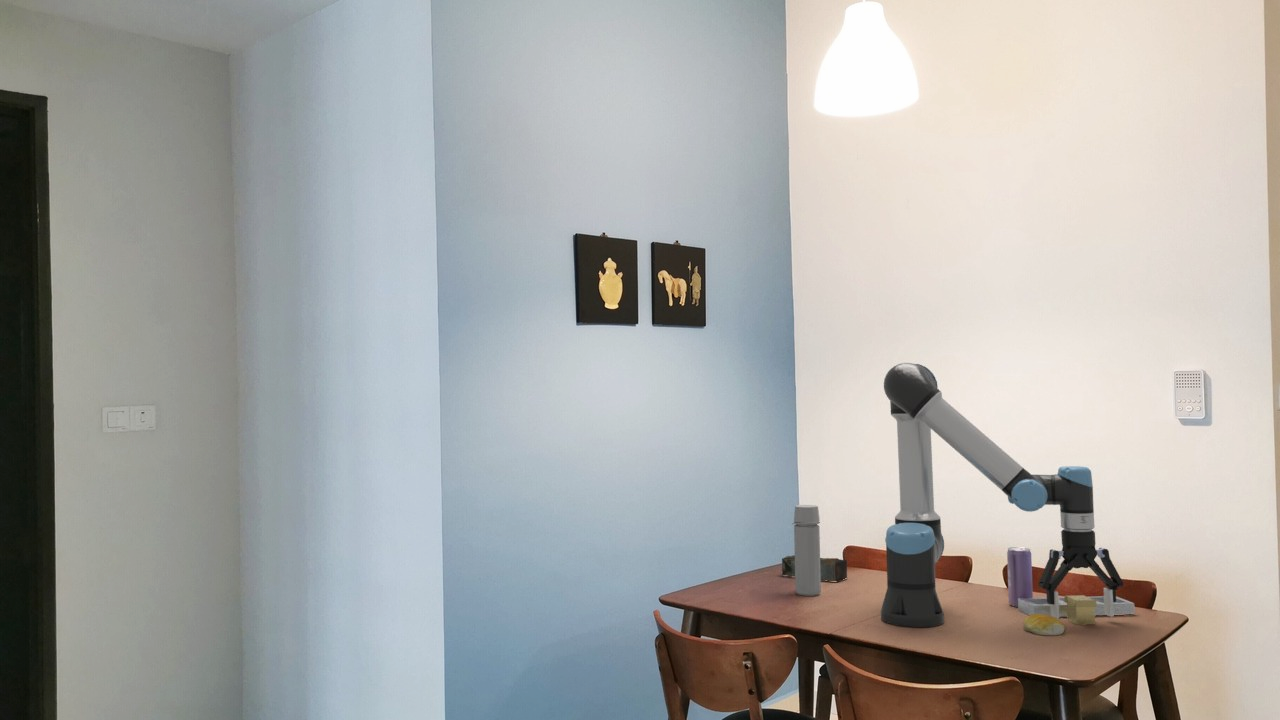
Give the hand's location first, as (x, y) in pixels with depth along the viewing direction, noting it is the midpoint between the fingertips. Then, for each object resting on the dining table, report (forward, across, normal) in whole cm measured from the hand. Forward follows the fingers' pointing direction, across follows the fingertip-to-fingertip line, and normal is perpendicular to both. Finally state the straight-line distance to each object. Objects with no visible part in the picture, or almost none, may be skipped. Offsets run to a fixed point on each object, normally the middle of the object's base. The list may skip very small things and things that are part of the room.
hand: (1082, 616), depth 223 cm
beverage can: (+1, -6, +19) cm, 20 cm away
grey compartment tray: (+1, +4, +10) cm, 11 cm away
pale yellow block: (+1, 0, 0) cm, 1 cm away
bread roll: (+2, -13, -7) cm, 15 cm away
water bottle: (+1, -59, +40) cm, 72 cm away
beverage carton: (+1, -52, +63) cm, 81 cm away
